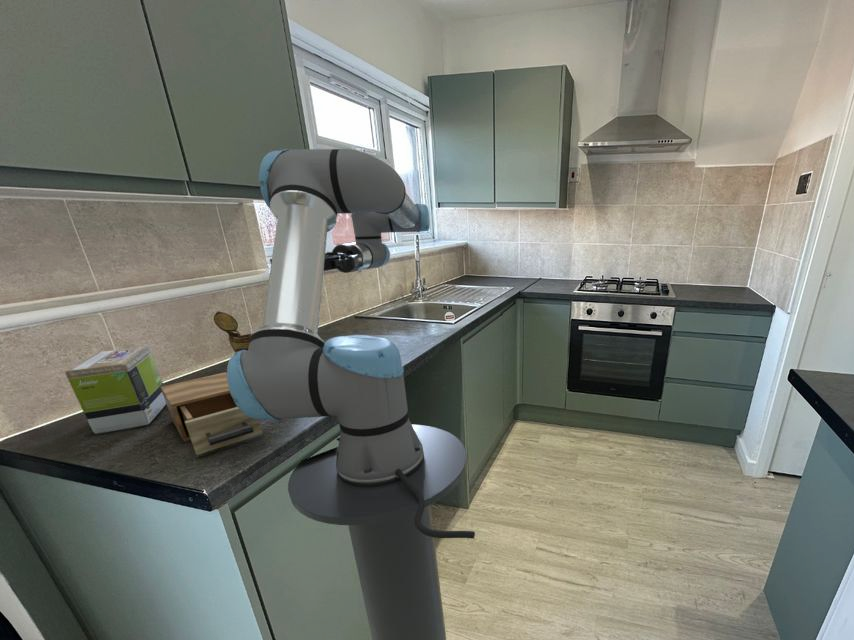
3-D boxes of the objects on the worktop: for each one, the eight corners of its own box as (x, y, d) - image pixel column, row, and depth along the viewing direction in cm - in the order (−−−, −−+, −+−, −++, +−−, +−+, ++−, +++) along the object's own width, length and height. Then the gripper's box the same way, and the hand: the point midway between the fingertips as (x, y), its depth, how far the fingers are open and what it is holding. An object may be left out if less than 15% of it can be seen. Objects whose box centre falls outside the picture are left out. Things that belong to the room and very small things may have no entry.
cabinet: (252, 421, 92) (242, 386, 89) (184, 442, 84) (170, 404, 81) (235, 404, 102) (225, 372, 99) (172, 421, 93) (160, 386, 90)
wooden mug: (247, 364, 131) (231, 308, 125) (279, 368, 127) (264, 310, 120) (220, 374, 124) (202, 314, 117) (253, 378, 119) (236, 316, 112)
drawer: (269, 441, 82) (261, 410, 79) (201, 463, 74) (189, 430, 72) (244, 415, 93) (236, 387, 91) (183, 432, 86) (173, 403, 84)
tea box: (121, 408, 101) (97, 350, 96) (171, 401, 104) (151, 344, 99) (91, 435, 88) (62, 369, 83) (150, 425, 92) (125, 362, 86)
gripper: (392, 271, 114) (345, 281, 95) (316, 271, 121) (257, 281, 102) (389, 242, 112) (339, 247, 93) (310, 244, 118) (249, 248, 99)
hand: (296, 265), depth 97 cm, fingers open, 13 cm apart
